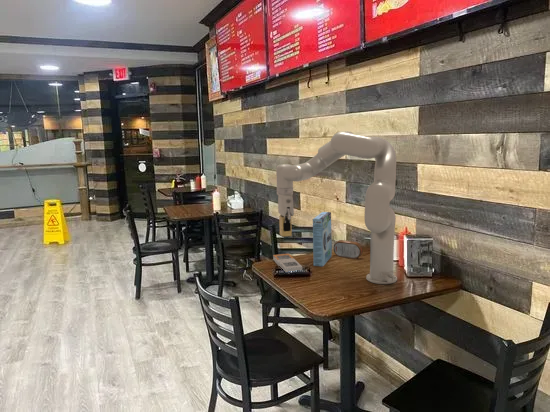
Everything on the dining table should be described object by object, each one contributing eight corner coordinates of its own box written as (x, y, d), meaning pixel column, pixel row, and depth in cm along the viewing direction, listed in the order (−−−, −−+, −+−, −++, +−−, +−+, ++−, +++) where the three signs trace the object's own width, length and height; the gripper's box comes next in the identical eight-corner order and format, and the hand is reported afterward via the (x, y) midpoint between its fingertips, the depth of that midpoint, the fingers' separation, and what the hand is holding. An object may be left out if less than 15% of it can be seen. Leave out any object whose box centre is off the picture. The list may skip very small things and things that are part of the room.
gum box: (323, 267, 197) (322, 219, 194) (312, 266, 199) (311, 218, 195) (332, 256, 215) (331, 212, 212) (322, 255, 217) (322, 211, 213)
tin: (363, 258, 210) (363, 242, 208) (360, 260, 207) (360, 243, 206) (335, 254, 218) (335, 238, 216) (332, 256, 215) (332, 240, 214)
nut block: (291, 235, 197) (291, 216, 195) (282, 236, 195) (282, 217, 194) (288, 233, 201) (288, 214, 199) (279, 234, 200) (279, 215, 198)
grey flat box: (302, 272, 190) (302, 266, 190) (285, 274, 188) (285, 268, 188) (288, 259, 211) (288, 253, 211) (273, 261, 209) (273, 255, 209)
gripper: (298, 193, 188) (298, 233, 191) (287, 188, 204) (287, 225, 207) (282, 194, 186) (283, 234, 189) (272, 189, 202) (273, 226, 205)
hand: (285, 229), depth 198 cm, fingers closed on nut block, 4 cm apart
